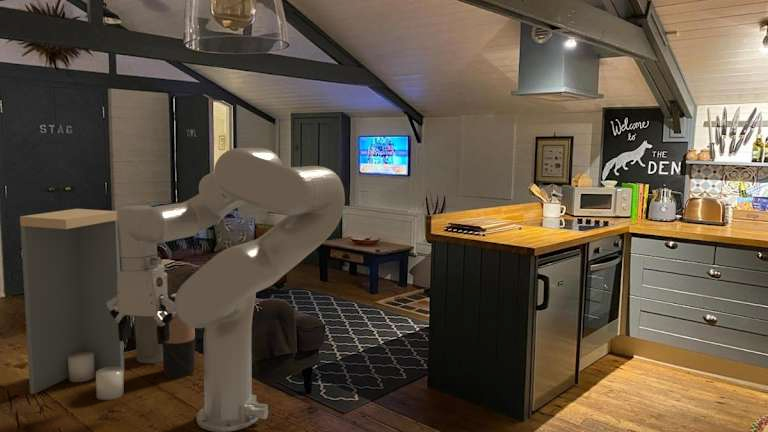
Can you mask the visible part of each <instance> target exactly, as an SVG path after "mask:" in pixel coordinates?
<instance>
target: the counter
mask: <svg viewBox="0 0 768 432" xmlns="http://www.w3.org/2000/svg"><path fill="white" fill-rule="evenodd" d="M117 211H118V210H102V209H90V208H89V209H87V208H71V209H65V210H58V211H51V212H43V213H37V214H36V213H35V214H29V215H21V216H19V222H20V238H21V239H20V242H21V254H22V255H21V257H22V259H21V260H22V273H23V275H22V276H23V291H24V292H23V293H24V295H23V296H24V311H25V329H26V344H27V345H26V346H27V360H28V361H27V362H28V363H27V366H28V377H29V378H28V379H29V381H28V382H29V394H30V395H31V394H32V395H36V394H37V393H40V392H42V391H44V390H45V389H47V388H49V387H52V386H54V385H56V384H58V383H60V382H62V381H64V380H66V379H69V374H68V356H69V355H70V354H73V353H76V352H81V351H90V352H93V353H94V367H95V373H96V371H97V370H99V369H102V368H105V367H113V366H115V367H121V368H123V375H125V356H124V355H125V352H124V350H125V349H124V341H119V331H118V323H116V322H115V319H114V317H113V316H112V315H111V314H110V310H109V308H108V306H107V304H106V303H107V302H108V301H109V300H111V299H113V298H115V297H116V296H117V278H118V272H119V270H120V256H119V243H118V229H117Z"/></svg>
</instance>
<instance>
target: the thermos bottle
mask: <svg viewBox="0 0 768 432" xmlns="http://www.w3.org/2000/svg"><path fill="white" fill-rule="evenodd" d="M157 255H158V259H161V256H162V255H161V252H158V251H157ZM158 268H161V269H162V271H163V274H164V278H165V282H166V287H167V291H168V290H169V289H168V273H167V272H165V269H166V268H165V265H164V264H162V263H161V265H158ZM160 316H161V315H160ZM134 317H135V319H134V320H135V344H136V345H135V346H136V349H135V351H136V361H137V362H138V363H141V364H156V363H163V348H162V344H158V339H157V326H159V324H158V323H157V321H156V320H155V319H154V317H140V316H134Z"/></svg>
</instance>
